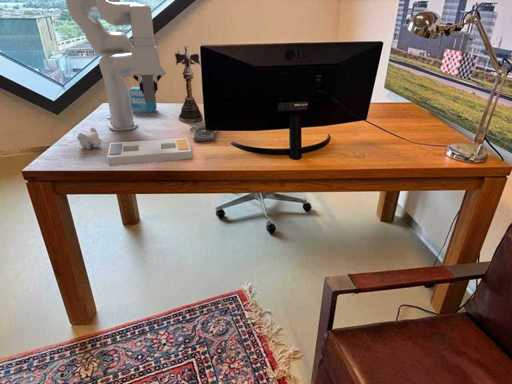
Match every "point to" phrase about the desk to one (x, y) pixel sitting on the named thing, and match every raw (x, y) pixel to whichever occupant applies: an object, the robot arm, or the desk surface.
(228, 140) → the desk surface
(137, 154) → the socket block
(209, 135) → the graphics card
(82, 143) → the elephant figurine
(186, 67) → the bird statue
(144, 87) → the grey long rectangular block
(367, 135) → the desk surface
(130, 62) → the robot arm
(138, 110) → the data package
